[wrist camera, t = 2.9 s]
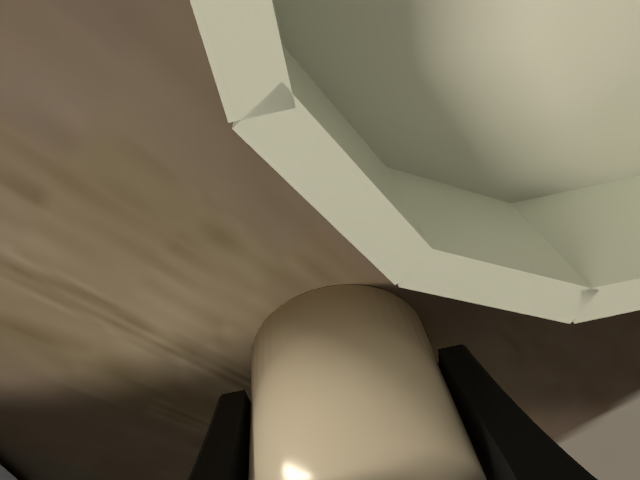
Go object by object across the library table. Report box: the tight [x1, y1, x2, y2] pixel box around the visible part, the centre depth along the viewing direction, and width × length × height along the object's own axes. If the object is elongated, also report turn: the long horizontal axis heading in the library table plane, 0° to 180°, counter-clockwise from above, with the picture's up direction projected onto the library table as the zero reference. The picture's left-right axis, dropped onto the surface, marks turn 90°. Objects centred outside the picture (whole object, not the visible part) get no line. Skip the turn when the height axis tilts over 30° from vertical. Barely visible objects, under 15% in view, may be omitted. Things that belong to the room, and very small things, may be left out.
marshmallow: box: [248, 285, 487, 480], centre depth 11 cm, size 5×5×4 cm
